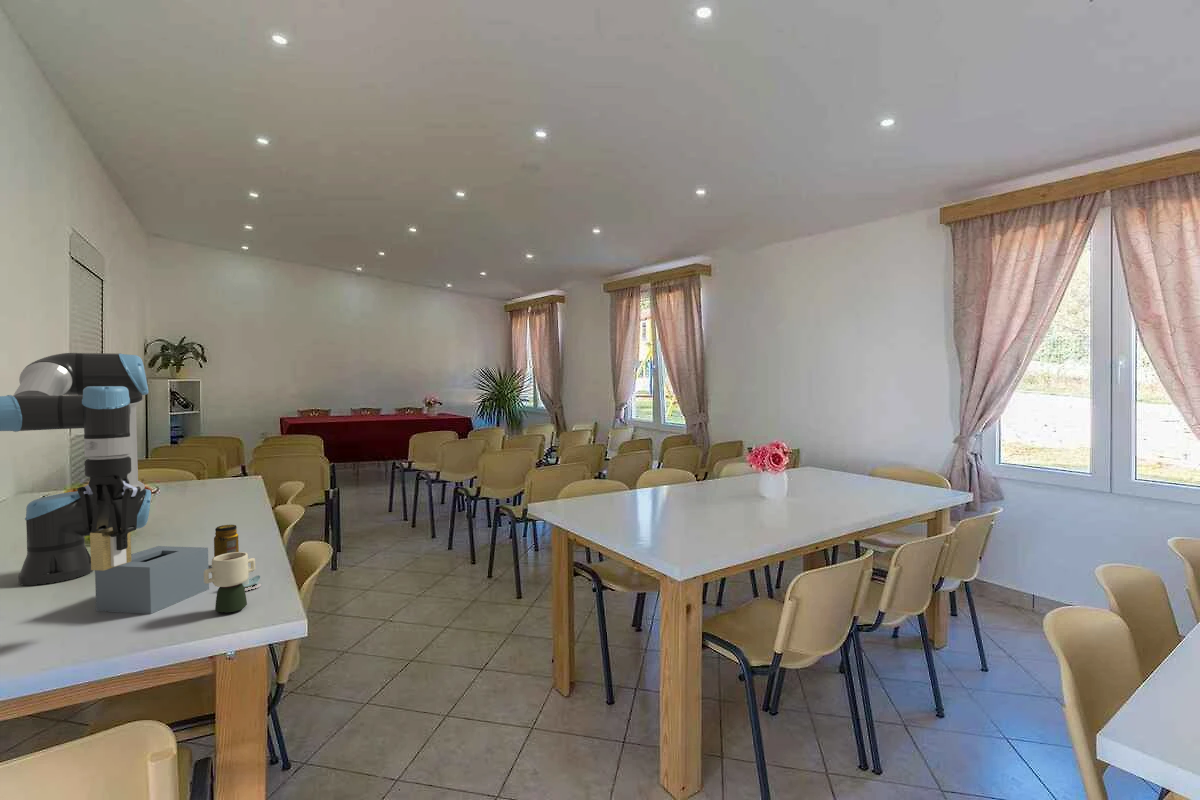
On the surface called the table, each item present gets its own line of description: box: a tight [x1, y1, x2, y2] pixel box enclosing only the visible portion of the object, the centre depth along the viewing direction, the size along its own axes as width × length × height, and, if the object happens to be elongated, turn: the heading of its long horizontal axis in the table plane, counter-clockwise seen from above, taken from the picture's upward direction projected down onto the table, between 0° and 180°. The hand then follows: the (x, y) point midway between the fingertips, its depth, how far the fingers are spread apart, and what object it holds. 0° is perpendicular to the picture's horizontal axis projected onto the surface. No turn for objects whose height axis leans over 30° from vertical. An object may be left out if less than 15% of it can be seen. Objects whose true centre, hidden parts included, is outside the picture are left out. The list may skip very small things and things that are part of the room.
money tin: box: [94, 545, 210, 615], centre depth 136 cm, size 15×16×11 cm
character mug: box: [204, 551, 256, 613], centre depth 129 cm, size 11×7×13 cm, turn 147°
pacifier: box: [242, 565, 262, 592], centre depth 143 cm, size 7×6×6 cm
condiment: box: [213, 524, 240, 558], centre depth 162 cm, size 7×8×12 cm
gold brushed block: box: [89, 527, 132, 571], centre depth 118 cm, size 3×6×8 cm, turn 172°
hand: (111, 563), depth 118 cm, fingers closed on gold brushed block, 3 cm apart
